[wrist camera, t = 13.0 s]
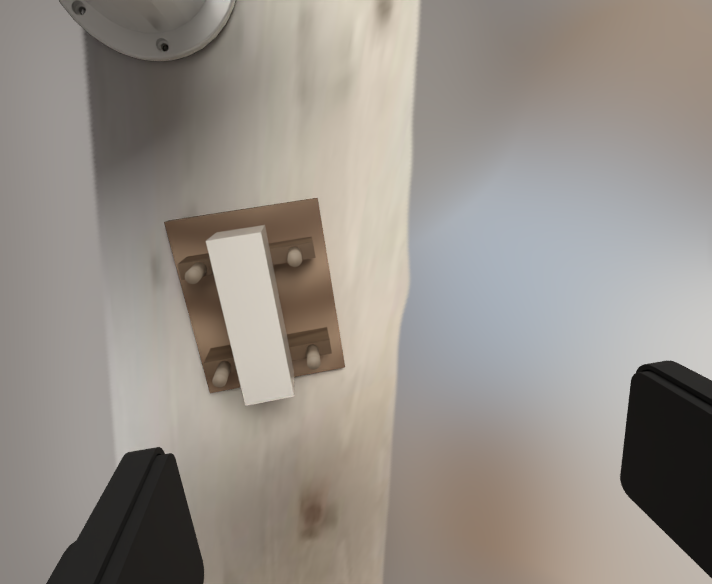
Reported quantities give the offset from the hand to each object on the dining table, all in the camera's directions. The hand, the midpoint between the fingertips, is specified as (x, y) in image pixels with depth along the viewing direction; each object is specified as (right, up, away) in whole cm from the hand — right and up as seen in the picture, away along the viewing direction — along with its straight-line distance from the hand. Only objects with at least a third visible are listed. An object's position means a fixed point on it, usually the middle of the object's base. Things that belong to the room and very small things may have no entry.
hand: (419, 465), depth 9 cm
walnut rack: (-9, +3, +28) cm, 30 cm away
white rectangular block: (-9, +2, +24) cm, 26 cm away
